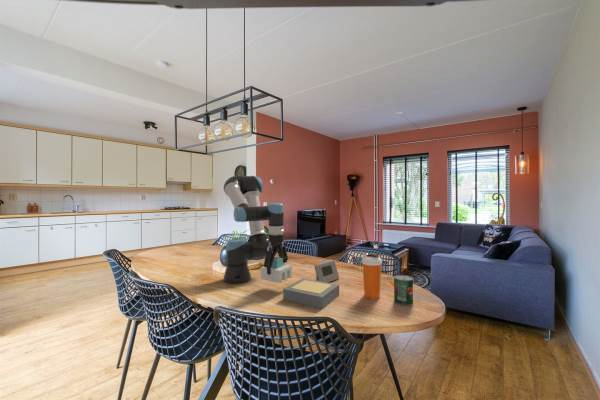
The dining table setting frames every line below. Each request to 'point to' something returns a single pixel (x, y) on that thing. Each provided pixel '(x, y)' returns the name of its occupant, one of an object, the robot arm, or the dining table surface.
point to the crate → (277, 262)
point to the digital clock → (326, 271)
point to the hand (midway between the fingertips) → (276, 277)
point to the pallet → (278, 273)
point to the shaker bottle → (372, 275)
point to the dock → (311, 293)
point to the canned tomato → (403, 290)
